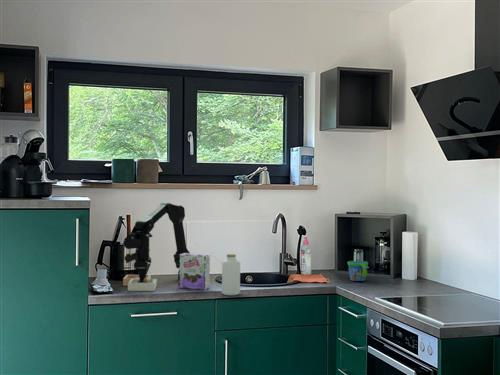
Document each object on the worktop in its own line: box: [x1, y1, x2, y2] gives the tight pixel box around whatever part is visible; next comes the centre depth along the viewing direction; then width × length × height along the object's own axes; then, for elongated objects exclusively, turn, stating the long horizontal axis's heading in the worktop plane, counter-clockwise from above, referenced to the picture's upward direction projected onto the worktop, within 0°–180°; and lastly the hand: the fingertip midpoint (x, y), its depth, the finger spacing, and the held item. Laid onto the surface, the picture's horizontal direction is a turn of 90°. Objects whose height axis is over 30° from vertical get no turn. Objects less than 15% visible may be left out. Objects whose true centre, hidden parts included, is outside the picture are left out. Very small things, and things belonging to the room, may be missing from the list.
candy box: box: [178, 252, 211, 291], centre depth 289 cm, size 14×6×16 cm, turn 70°
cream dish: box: [127, 278, 158, 293], centre depth 283 cm, size 12×12×4 cm
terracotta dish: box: [122, 274, 152, 287], centre depth 296 cm, size 12×12×4 cm
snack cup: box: [347, 260, 369, 282], centre depth 317 cm, size 16×10×10 cm
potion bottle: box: [221, 253, 241, 296], centre depth 275 cm, size 8×8×18 cm
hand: (142, 280), depth 283 cm, fingers open, 9 cm apart
